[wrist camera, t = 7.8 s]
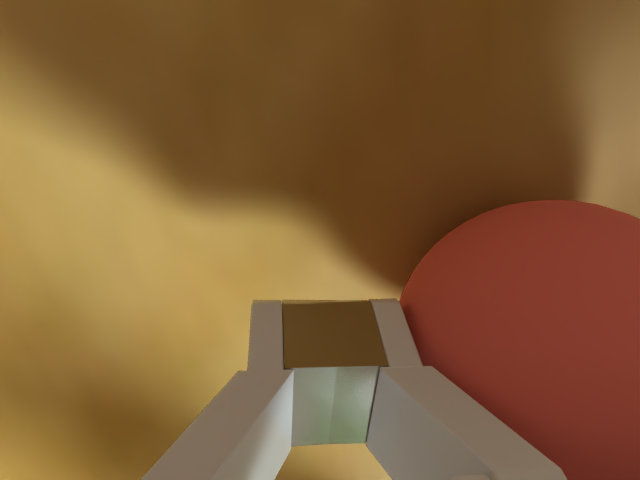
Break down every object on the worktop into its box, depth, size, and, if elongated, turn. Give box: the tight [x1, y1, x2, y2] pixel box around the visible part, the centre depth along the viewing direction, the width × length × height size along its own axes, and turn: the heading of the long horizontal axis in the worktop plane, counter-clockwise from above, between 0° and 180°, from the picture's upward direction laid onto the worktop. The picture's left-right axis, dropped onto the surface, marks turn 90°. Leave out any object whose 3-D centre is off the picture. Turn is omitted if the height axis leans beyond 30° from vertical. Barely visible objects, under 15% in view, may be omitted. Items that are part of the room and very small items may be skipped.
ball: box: [399, 200, 640, 480], centre depth 8 cm, size 6×6×6 cm
